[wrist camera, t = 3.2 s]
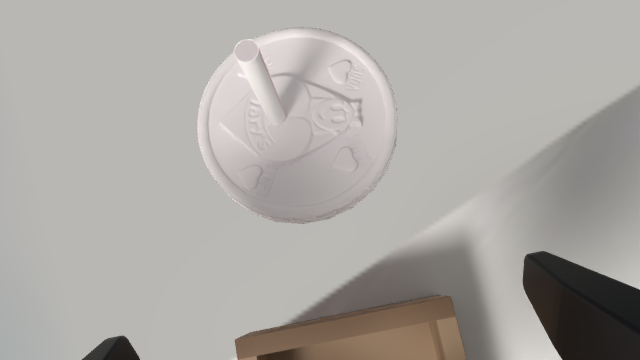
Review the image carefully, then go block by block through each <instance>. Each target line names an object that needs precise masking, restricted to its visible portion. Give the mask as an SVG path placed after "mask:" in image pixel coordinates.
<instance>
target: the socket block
mask: <svg viewBox="0 0 640 360" xmlns="http://www.w3.org/2000/svg"><path fill="white" fill-rule="evenodd" d="M235 345H236V350H237V358H238V360H466V356H465V352H464V348H463V344H462V340H461V336H460V332H459V328H458V324H457V320H456V316H455V312H454V308H453V304H452V300H451V297H448V296H441V295H435V296H430V297H425V298H420V299H415V300H410V301H405V302H400V303H395V304H390V305H385V306H380V307H375V308H370V309H365V310H360V311H355V312H350V313H345V314H340V315H335V316H330V317H325V318H320V319H315V320H310V321H305V322H300V323H295V324H290V325H285V326H280V327H275V328H270V329H265V330H260V331H255V332H250V333H248V334H246V335H244V336H242V337H240V338H238V339H236V340H235Z"/></svg>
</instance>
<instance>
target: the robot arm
mask: <svg viewBox="0 0 640 360" xmlns="http://www.w3.org/2000/svg"><path fill="white" fill-rule="evenodd" d="M523 286H524V290H525V292H526V294H527V296H528V298H529V300H530V302H531V304H532V306H533V308H534V310H535V312H536V314H537V315H538V317H539V319H540V321H541V323H542V325H543V327H544V329H545V331H546V333H547V334H548V336H549V338H550V340H551V342H552V344H553V345H554V347H555V349H556V350H557V352H558V354H559V355H560V357H561V358H562V360H640V290H639V289H637V288H634V287H632V286H629V285H627V284H624V283H622V282H620V281H617V280H615V279H612V278H610V277H607V276H605V275H602V274H600V273H597V272H595V271H592V270H590V269H587V268H585V267H582V266H580V265H577V264H575V263H573V262H570V261H568V260H565V259H563V258H560V257H558V256H555V255H553V254H550V253H548V252H544V251H540V252H535V253H530V254H527V255H526V256H525V258H524V269H523ZM82 360H140V358H139V356H138V355H137V353H136V351H135V350H134V348H133V347H132V345H131V344H130V342H129V340H128V339H127V338H126V337H125V336H117V337H113V338H108V339H106V340H104V341H103V342H102V343H101V344H99V345H98V346H97V347H96V348H95V349H94V350H93V351H91V352H90V353H89V354H88V355H87V356H86V357H84V358H83V359H82Z"/></svg>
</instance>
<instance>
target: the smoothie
mask: <svg viewBox="0 0 640 360" xmlns="http://www.w3.org/2000/svg"><path fill="white" fill-rule="evenodd" d="M197 131H198V140H199V146H200V150H201V153H202V156H203V159H204V161H205V164H206V166H207V167H208V170H209V171H210V173H211V175H212V176H213V178H214V179H215V180H216V182H217V183H218V184H219V185H220V186H221V188H223V190H224V191H225V192H226V193H227V194H228V195H229V196H230V197H231V199H233V200H234V201H236V202H237V203H238V204H240V205H241V206H243V207H244V208H245V209H247V210H248V211H250V212H251V213H253V214H256V215H259V216H262V217H265V218H267V219H270V220H273V221H276V222H284V223H298V224H305V223H310V222H316V221H320V220H326V219H330V218H332V217H334V216H336V215H338V214H340V213H343V212H345V211H346V210H349V209H351V208H353V207H354V206H355V205H357V203H359V202H360V201H361V200H362V199H364V198H365V197H366V196H367V195H368V194H369V193H371V192H372V191H373V190H374V188H375V187H376V185H377V184H378V182H379V181H380V179H381V178H382V176H383V175H384V174H385V172H386V171H387V169H388V166H389V164H390V160H391V158H392V155H393V152H394V149H395V146H396V133H397V109H396V102H395V98H394V94H393V91H392V88H391V85H390V83H389V81H388V79H387V77H386V75H385V74H384V72H383V70H382V69H381V67H380V66H379V65H378V63H377V62H376V61H375V60H374V59H373V58H372V57H371V56H370V54H368V53H367V52H366V51H365V50H364V49H362V48H361V47H360V46H358V45H357V44H355V43H354V42H352V41H351V40H349V39H347V38H345V37H342V36H341V35H338V34H335V33H333V32H330V31H326V30H321V29H314V28H303V27H301V28H300V27H299V28H286V29H280V30H276V31H272V32H269V33H266V34H263V35H261V36H258V37H256V38H254V39H252V40H250V39H245V40H242V41H240V42H239V43H238V44H237V45H236V46H235V49H234V52H233V53H231V54H230V55H229V56H228V57H227V58H226V59H225V60H224V61H223V62H222V63H221V65H220V66H219V67H218V68H217V70H216V71H215V72H214V74H213V75H212V77H211V79H210V80H209V82H208V84H207V86H206V88H205V91H204V93H203V96H202V99H201V103H200V106H199V112H198V123H197Z"/></svg>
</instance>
